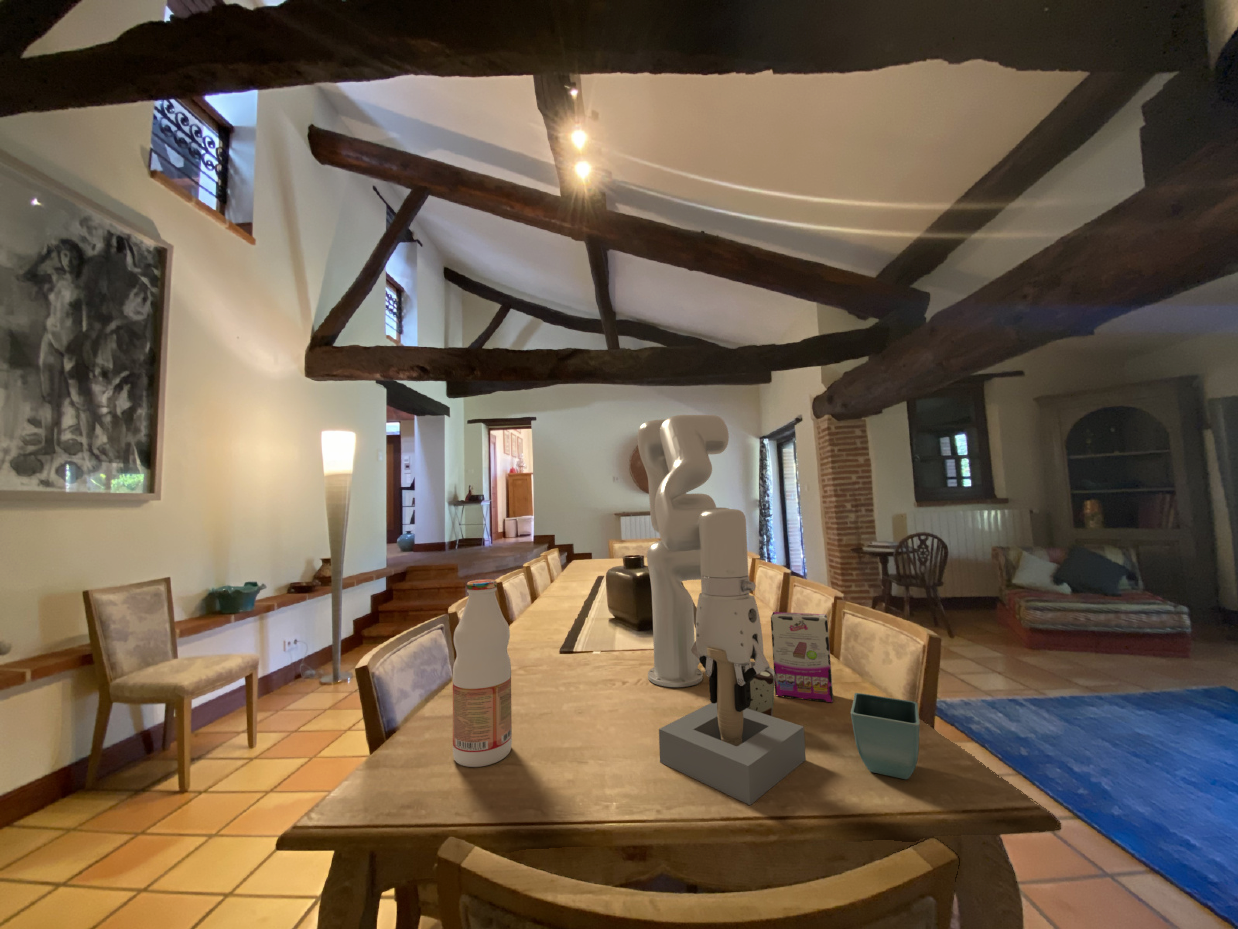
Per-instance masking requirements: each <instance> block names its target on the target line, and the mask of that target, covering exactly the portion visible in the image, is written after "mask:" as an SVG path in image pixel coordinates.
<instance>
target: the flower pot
mask: <svg viewBox="0 0 1238 929" xmlns="http://www.w3.org/2000/svg"><path fill="white" fill-rule="evenodd" d="M850 717H851V723H852V730H853V734H854V742H855V746H856V749H857V751H858V754H859V756H860V759H861V761H862V762H863V764H864V766H865V767H866V769H867V770H868V771H869V772H871V773H874V774H875V773H876V774H879V775H884V776H888V777H893V778H897V779H902V780H908V779H909V778H910V777H911V776H912V774H913V773H914V771H915V769H916V766H917V764H918V759H919V751H920V750H919V747H920V746H919V745H920V731H921V730H920V728H921V726H920V725H921V723H920V714H919V703H918V702H917V701H912V700H908V699H901V698H892V697H886V696H879V695H874V694H870V693H868V694H867V693H862V692H854V694H853V700H852V704H851V709H850Z"/></svg>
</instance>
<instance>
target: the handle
mask: <svg viewBox="0 0 1238 929" xmlns="http://www.w3.org/2000/svg"><path fill="white" fill-rule="evenodd" d="M707 655H708V656H709V657H710V658H712V659H714V660H715V661H716V662H717V716H718V725H719V730H720V734H721V741H724V742H726V743H729V744H732V745H734V746H739V745H740V744H742V739H741V738H742V733H743V711H741V712H738V711H736V709H735V693H734V685H735V684H737V683H738V682H737V678H736V672H735V667H734V663H730V662H729V661H728V659H727V658H726V651H722V650H717V649H713V648H709V647H707Z"/></svg>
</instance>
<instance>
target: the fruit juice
mask: <svg viewBox="0 0 1238 929" xmlns="http://www.w3.org/2000/svg"><path fill="white" fill-rule="evenodd" d="M497 587H498V583H497V580H496V579H490V578H487V579H485V578H484V579H475V580H474V579H473V580H470V581H468V582H467V583H466V592H467V593H468V597H467V600H466V603H465V606H464V610H463V612H462V616H461V619H460V620H459V622H458V624H457V626H456V627H455V629H454V632H453V645H454V648H455V652H456V658H455V660H454V663H453V667H452V668H453V669H452V756H453V759H454V761H455V762H456V764H458V765H460V766H463V767H466V768H467V767H469V768H479V767H480V768H481V767H485V766H490V765H493V764H496V763H499V762H500V761H502V760H503V759H505V758H506V757H507V756H508V755H509V754H510V752H511V750H512V740H513V739H512V735H513V734H512V729H513V726H512V723H513V722H512V720H513V719H512V665H511V657H510V655H509V653H508V645H509V642H510V639H511V632H510V631H511V630H510V626H509V624H508V622H507V620H506V619H505V617H504V615H503V613H502V610H501V608H500V604H499V602H498V599H497V596H496V591H497V589H498V588H497Z"/></svg>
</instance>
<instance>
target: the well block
mask: <svg viewBox="0 0 1238 929" xmlns="http://www.w3.org/2000/svg"><path fill="white" fill-rule="evenodd" d="M741 739H742V744H740V745H739V746H734V745H732V744H729V743H726V742H724V741H721V734H720V730H719V725H718V716H717V703H715V704H714V703H711V702H710V703H708V704H705V705H704V706H702V707H700V708H698V709H696V710H693V711H691V712H690V713H687V714H686V715H683V716H682V717H680V718H678V719H676V720H674V721H672V722H670V723H668V724H666V725H664V726H662V727H660V728H659V729H658V741H659V743H658V744H659V763H660V764H663V765H665V766H667V767H669V768H671V769H673V770H675V771H678V772H679V773H682V774H683V775H686V776H688V777H690V778H692V779H695V780H696V781H699V782H701V783H702V784H704V785H706V786H709V787H711V788H713V789H716V790H717V791H719V792H721V793H724V794H725V795H728V796H730V797H732V798H733V799H736V800H738V801H739V802H743V803H745V804H746V805H749V806H751V805H752V804H753V803H755V802H756V801H758V800H759V799H760V798H761V797H762V796H763V795H765V794H766V793H767V792H768V791H770V790H771V789H772V788H773V787H774V786H776V785H777V784H778V783H779V782H780V781H782V780H784V778H786V777H787V776H788V775H789V774H790V773H792V772H793V771H794V770H795V769H797V768H798V767H799V766H800V765H801V764H803V763H805V761H806V760H807V759H806V742H805V739H806V738H805V726H803V725H800V724H796V723H794V722H790V721H788V720H785V719H782V718H778V717H775V716H773V717H772V716H769V715H766V714H763V713H760V712H757V711H754V710H751V709H748V708H747V709H745V710H743V733H742V738H741Z"/></svg>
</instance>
